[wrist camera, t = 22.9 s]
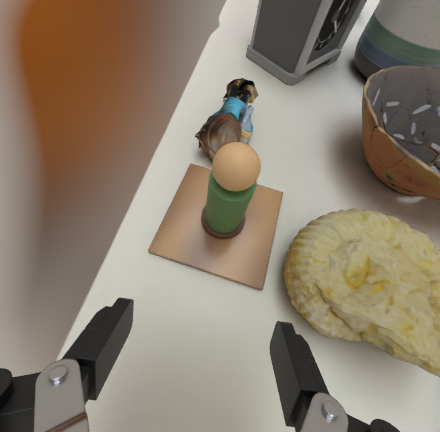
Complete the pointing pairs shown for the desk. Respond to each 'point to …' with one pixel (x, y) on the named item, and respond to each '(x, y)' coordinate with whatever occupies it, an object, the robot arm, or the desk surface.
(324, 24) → the alarm clock
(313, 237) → the seashell
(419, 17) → the vase
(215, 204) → the peg doll
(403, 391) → the desk surface
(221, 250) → the cork mat
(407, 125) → the bowl
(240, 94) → the figurine
